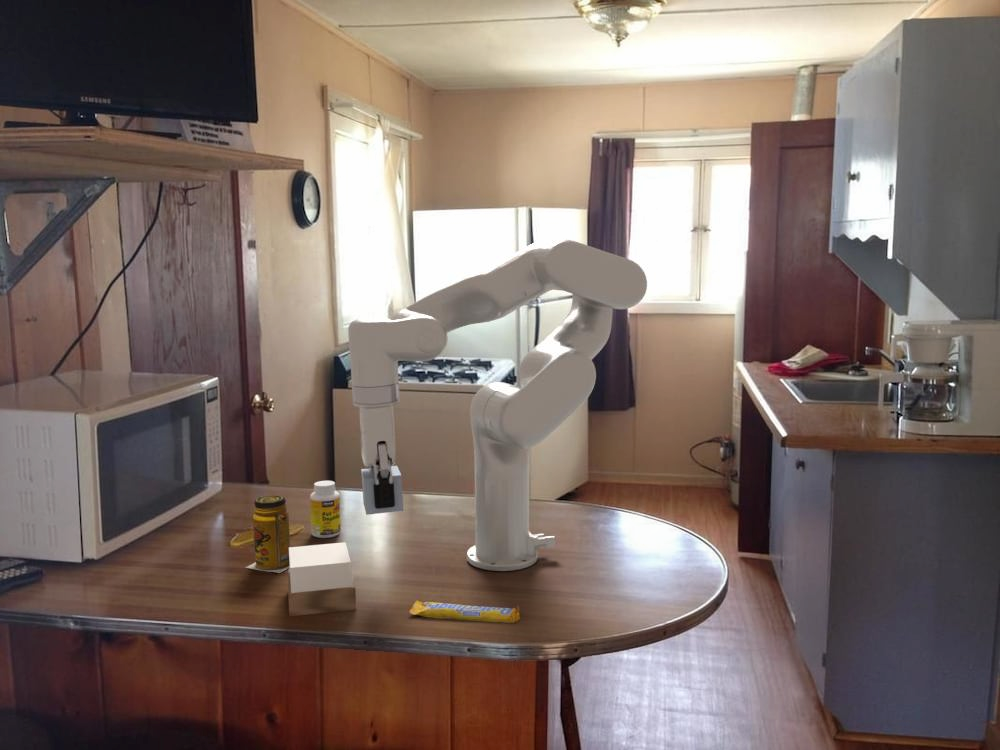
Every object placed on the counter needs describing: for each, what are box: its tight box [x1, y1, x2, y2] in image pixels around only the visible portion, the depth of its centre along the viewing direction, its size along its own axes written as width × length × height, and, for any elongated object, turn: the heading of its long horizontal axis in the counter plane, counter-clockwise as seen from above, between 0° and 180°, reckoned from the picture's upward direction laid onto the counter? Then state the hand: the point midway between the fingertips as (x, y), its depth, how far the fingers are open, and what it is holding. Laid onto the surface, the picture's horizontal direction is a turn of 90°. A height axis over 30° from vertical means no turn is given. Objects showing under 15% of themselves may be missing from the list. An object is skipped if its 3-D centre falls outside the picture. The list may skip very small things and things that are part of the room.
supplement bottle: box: [309, 480, 341, 539], centre depth 165 cm, size 6×6×10 cm
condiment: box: [244, 494, 291, 574], centre depth 150 cm, size 7×8×12 cm
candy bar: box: [408, 600, 521, 624], centre depth 130 cm, size 17×4×2 cm, turn 81°
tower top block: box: [289, 542, 352, 593], centre depth 134 cm, size 9×9×4 cm
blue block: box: [360, 465, 404, 516], centre depth 141 cm, size 6×6×6 cm
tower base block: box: [287, 566, 357, 617], centre depth 135 cm, size 10×10×4 cm
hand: (382, 500), depth 142 cm, fingers closed on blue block, 6 cm apart
